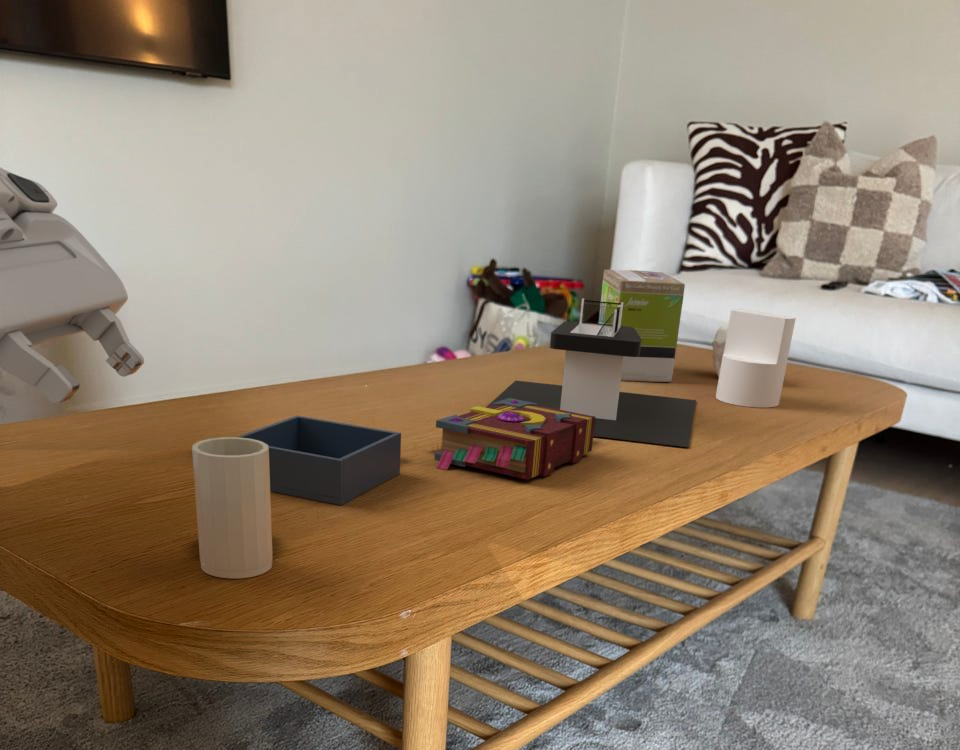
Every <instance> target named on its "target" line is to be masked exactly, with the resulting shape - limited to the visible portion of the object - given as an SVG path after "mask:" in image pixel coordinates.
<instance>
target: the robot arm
mask: <svg viewBox="0 0 960 750" xmlns="http://www.w3.org/2000/svg"><path fill="white" fill-rule="evenodd" d="M57 207H58V202H57V200H56V199H55V198H54V196H53V195H52V194H51V193H50V191H48V190H47V189H46V187H44V185H42V184H40V183H39V182H37V181H36V180H33V179H29V178H27V177H23V176H20V175H18V174H16V173H13V172H11V171H9V170H6V169H4V168H2V167H0V368H1V369H2V371H4V372H6V373H8V374H10V375H12V376H13V377H15V378H17V379H19V380H21V381H23V382H25V383H27V384H29V385H31V386H33V387H35V388H36V389H37V390H38V391H39V392H40V393H41V394H42V395H43V396H44V397H45V399H46V400H48V401H49V402H50V403H52V404H54V405H57V404H61V403H64V402H65V401H68V400H70V399H71V398H72V397H73V396H74V394H75V393H76V392H77V391H79V389H80V386H81V385H80V382H79V380H78V378H77V377H76V376H74V375H72V374H71V372H70V370H69V369H68V368H67V367H66V366H64V365H63V363H61V364H58V365H55V363H52V361H50V360H48V359H47V358H45V357H44V356H43V355H42V354H40V353H39V352H37V351H36V350H35V349H33V348H32V347H34V346H38V345H41V344H44V343H45V344H46V343H48V342H51V341H55V340H59V339H62V338H66V337H69V336H72V335H77V334H79V333H86V334H87V335H88V336H89V338H91V340H92V341H93V342H96V341H98V342H99V344H100V345H101V347H102V349H104V352H105V353H106V354H107V356H108V357H107V359H106V360H105V362H106V363H107V364H108V365H109V366H110V367H111V369H114V370H115V372H116V373H117V374H118V375H119V376H120V377H127V376H130V375H133V374H135V373H137V372H138V370H140V368H141V367H142V366H143V365H144V364H145V359H144V356H143V355H142V353H140V352H139V350H138V349H137V348H136V347H135V346H134V344H132V343H131V342H130V339H129V337H128V335H127V332H126V330H125V327H124V326H123V324H122V323H123V322H122V321H121V320H120V318H119V317H118V316H117V314H118V313H119V311H120V310H121V309H122V308H123V306H124V305H125V304H126V303H127V302H128V299H129V295H128V292H127V290H126V287H125V284H124V282H123V281H122V279H121V278H120V276H119V275H118V274H117V273H116V272H115V270H114V269H113V268H112V267H111V265H110V264H109V263H108V262H107V261H106V260H105V258H103V256H102V255H101V254H100V253H99V251H98V250H97V249H96V248H95V247H94V245H92V243H90V241H89V240H88V239H87V238H86V237H85V236H84V235H83V234H82V233H81V232H80V231H79V229H77V228H76V227H75V226H74V225H73V224H72V223H71V222H69V221H68V220H67V219H65V218H64V217H62V216H61V215H60V214H57V213H54V211H55V210H56V208H57Z"/></svg>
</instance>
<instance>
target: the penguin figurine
mask: <svg viewBox="0 0 960 750" xmlns="http://www.w3.org/2000/svg"><path fill="white" fill-rule="evenodd" d="M728 325H729V320H727V321H726V322H724V323H723V324H721V325H720V326H719V327H718V329H717V330H716V332H715V335H714V339H713V341H712V343H711V346H712V360H713V368H714V371H715V373H716V375H717V376H718V377H719V374H720V368H721V362H722V357H723V354H724V349H725V343H726V337H727V331H728Z"/></svg>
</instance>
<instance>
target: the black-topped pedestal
mask: <svg viewBox="0 0 960 750" xmlns="http://www.w3.org/2000/svg"><path fill="white" fill-rule="evenodd" d="M602 303H604V308H603V311H604V310H605V307H606V306H605V303H607V307H608V303H609V304H610V307H611V304H613V307H614V304H615V305H617V304H618V305H619V304H621V305H619V307H617V306H616V307H614V308H617V309H616V310H615V312H614V309H612V312H614V313H613V314H612V313H610V316H611V317H608V320H609V321H610V323H611V325H610V323H609V322H608V320H607V321H606V322H605V321H602V320H603V319H604V316H603V317H602V320H601V321H599V319H601V316H599V315H600V310H602V307H600V304H601V306H602ZM611 308H612V307H611ZM611 308H610V309H609V312H610V311H611ZM622 309H623V302H621V303H612V302H601V300H589V299H585V298H581V305H580V313H579V314H580V315H579V321H574V320H573V321H563V322H562V323H561V324H559V325H558V326H557V327H555V328H554V329H553V330H552V331H551V332H550V339H549V340H550V342H549V349H552V350H559V351H565V356H564V365H563V375H562V376H563V377H562V385H560V384H552V383H544V382H533V381H526V380H525V381H524V380H514V381H513V382H512V383H511V384H509V386H508V387H506V389H504V390H503V391H502V392H501V393H500V394H499V395H497V396H496V397H495V398H494V399H493V400H492V401H491V402H490V403H489V404H488V405H487V406H486V407H489V406H492V403H495V402H499V401H502V400H505V399H508V398H512V399H517V400H521V401H526V402H531V403H536V404H538V406H543V407H548V408H553V409H559V410H564V411H569V412H574V413H579V414H584V415H590V416H595V425H594V434H593V437H597V438H600V437H601V438H606V439H607V438H608V439H615V440H623V441H631V442H640V443H650V444H657V445H665V446H674V447H683V448H689V446H690V440H691V434H692V428H693V421H694V415H695V410H696V402H697V400H696V399H689V398H682V397H681V398H679V397H670V396H663V395H652V394H646V393H645V394H643V393H634V392H627V391H625V392H624V391H620V389H621V382H622V380H621V375H622V367H623V359H624V356H627V357H639V355H640V349H641V342H642V339H641V337H640V336H639V334H638V333H637V332H636V330H635V329H634V328H633V327H628V326H621V318H622ZM603 311H602V312H601V315H602V314H603ZM606 311H608V308H606ZM609 312H608V313H607V316H608V315H609ZM604 315H606V312H604ZM607 316H606V317H605V320H606V319H607ZM612 316H613V317H612ZM610 318H611V319H610ZM613 318H614V319H613ZM612 320H613V322H612ZM600 322H602V324H599V323H600ZM603 322H605V324H603ZM606 323H608V324H606Z"/></svg>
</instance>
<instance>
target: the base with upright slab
mask: <svg viewBox="0 0 960 750" xmlns="http://www.w3.org/2000/svg"><path fill="white" fill-rule="evenodd" d="M796 319H797V318H796V317H794V316H787V315H783V314H781V315H780V314H775V313H769V312H762V311H755V310H750V309H744V308H737V309H736V308H735V309H730V314H729V320H728V321H729V325H728V331H727V337H726V343H725V349H724V354H723V357H722V362H721V368H720V374H719V376H718V380H717V386H716V391H715V398H716V399H717V400H718V401H720V402H722V403H725V404H730V405H734V406H739V407H747V408H748V407H749V408H760V409H761V408H774V407H778V406H779V404H780V400H781V397H782V391H783V385H784V380H785V376H786V371H787V366H788V359H789V353H790V349H791V345H792V339H793V334H794V329H795V324H796Z"/></svg>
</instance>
